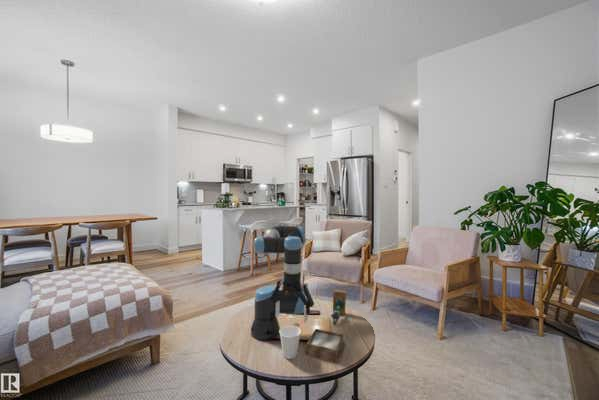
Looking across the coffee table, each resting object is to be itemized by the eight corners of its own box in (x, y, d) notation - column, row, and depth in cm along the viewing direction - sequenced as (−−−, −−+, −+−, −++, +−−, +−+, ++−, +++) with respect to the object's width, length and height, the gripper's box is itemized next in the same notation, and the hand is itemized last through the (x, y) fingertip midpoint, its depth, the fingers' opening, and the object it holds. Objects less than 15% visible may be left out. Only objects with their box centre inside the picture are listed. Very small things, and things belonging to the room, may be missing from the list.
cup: (298, 363, 112) (298, 338, 112) (275, 360, 114) (276, 335, 114) (302, 350, 122) (303, 327, 121) (281, 347, 124) (282, 324, 123)
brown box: (304, 354, 119) (304, 343, 118) (313, 338, 132) (313, 328, 132) (339, 363, 113) (339, 351, 113) (345, 345, 126) (345, 334, 126)
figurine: (333, 312, 162) (346, 313, 161) (331, 326, 145) (345, 327, 144) (332, 289, 162) (345, 290, 161) (330, 300, 145) (345, 301, 143)
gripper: (263, 270, 118) (262, 317, 118) (317, 277, 109) (315, 327, 110) (270, 266, 125) (269, 310, 125) (321, 272, 117) (320, 319, 117)
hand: (291, 318), depth 118 cm, fingers open, 13 cm apart
